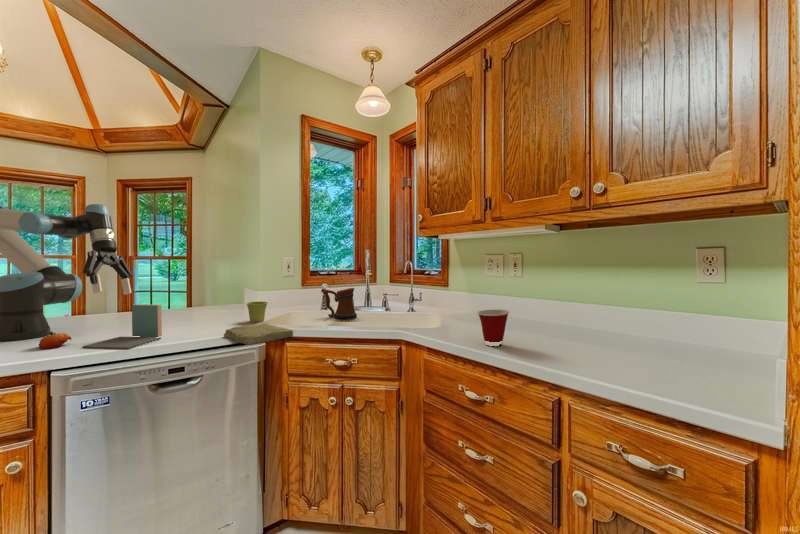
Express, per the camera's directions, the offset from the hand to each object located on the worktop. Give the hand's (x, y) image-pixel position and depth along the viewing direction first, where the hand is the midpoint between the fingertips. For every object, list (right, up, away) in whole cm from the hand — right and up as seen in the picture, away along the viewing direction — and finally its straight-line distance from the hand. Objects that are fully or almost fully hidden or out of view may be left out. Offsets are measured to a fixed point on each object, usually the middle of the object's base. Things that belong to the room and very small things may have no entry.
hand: (113, 293), depth 138 cm
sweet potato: (-2, -16, -21) cm, 27 cm away
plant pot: (+46, -15, +26) cm, 55 cm away
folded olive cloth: (+58, -17, -5) cm, 61 cm away
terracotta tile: (+18, -16, -7) cm, 25 cm away
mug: (+82, -15, +39) cm, 92 cm away
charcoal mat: (+17, -16, -17) cm, 29 cm away
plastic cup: (+145, -17, -15) cm, 146 cm away
